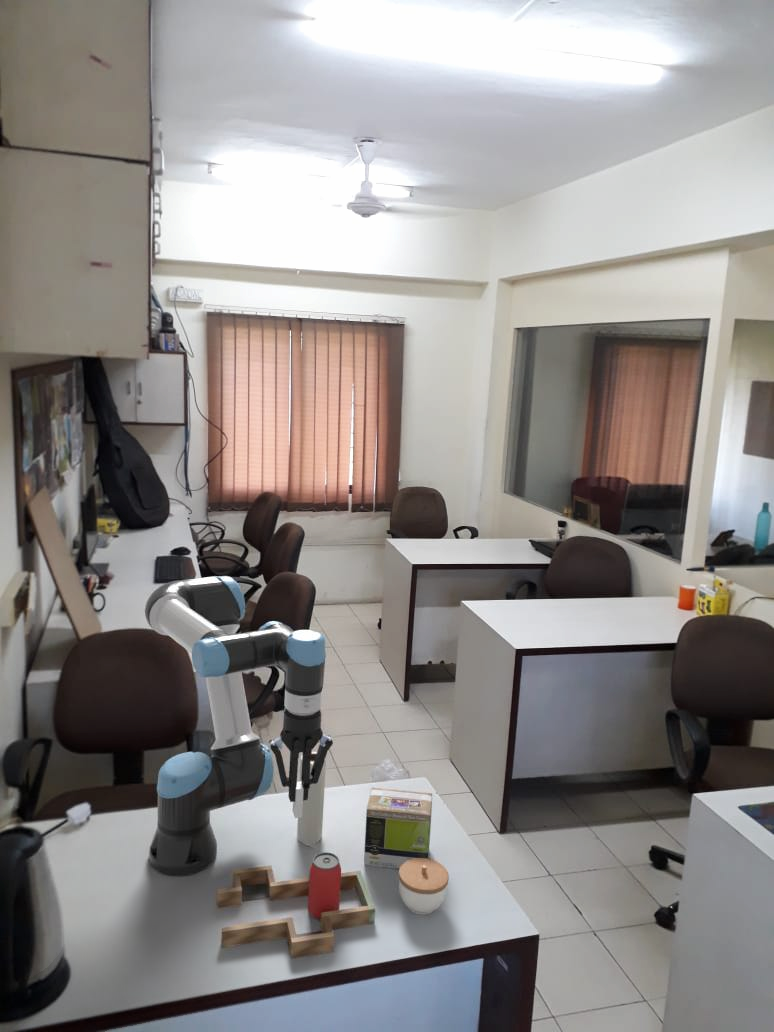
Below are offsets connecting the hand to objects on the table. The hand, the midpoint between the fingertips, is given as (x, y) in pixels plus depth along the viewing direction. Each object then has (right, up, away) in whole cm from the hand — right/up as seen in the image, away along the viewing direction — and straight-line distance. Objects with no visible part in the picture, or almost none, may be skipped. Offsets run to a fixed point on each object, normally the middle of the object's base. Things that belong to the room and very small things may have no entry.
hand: (297, 813), depth 157 cm
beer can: (+5, -23, +5) cm, 24 cm away
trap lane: (-1, -22, +3) cm, 22 cm away
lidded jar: (+26, -23, +8) cm, 36 cm away
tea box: (+21, -20, +24) cm, 38 cm away
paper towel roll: (-1, -17, +29) cm, 34 cm away
